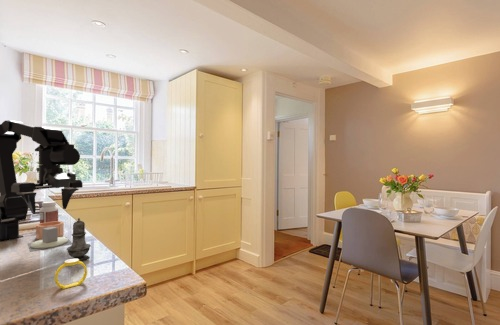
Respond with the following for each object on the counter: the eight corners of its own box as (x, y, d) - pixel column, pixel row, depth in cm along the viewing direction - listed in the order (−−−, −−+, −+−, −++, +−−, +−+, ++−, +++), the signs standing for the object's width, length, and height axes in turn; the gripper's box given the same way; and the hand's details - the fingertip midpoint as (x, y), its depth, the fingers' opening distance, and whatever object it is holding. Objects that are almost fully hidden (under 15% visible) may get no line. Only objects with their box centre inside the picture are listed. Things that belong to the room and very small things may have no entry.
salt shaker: (78, 264, 72) (78, 220, 72) (61, 262, 73) (61, 219, 73) (95, 256, 78) (95, 216, 78) (78, 255, 79) (78, 215, 79)
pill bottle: (61, 226, 114) (61, 200, 114) (53, 229, 108) (53, 202, 108) (44, 226, 112) (44, 201, 112) (36, 230, 106) (36, 203, 106)
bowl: (31, 238, 95) (31, 224, 95) (56, 233, 102) (56, 220, 102) (43, 241, 92) (43, 227, 92) (68, 235, 99) (68, 222, 99)
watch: (85, 281, 62) (87, 256, 62) (86, 286, 60) (89, 259, 60) (53, 287, 58) (56, 260, 59) (54, 292, 56) (56, 264, 56)
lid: (24, 245, 86) (24, 229, 86) (57, 237, 95) (57, 223, 95) (40, 250, 81) (40, 233, 81) (74, 241, 90) (74, 226, 90)
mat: (27, 244, 88) (27, 243, 88) (66, 238, 96) (66, 237, 96) (30, 253, 80) (30, 251, 80) (72, 245, 88) (72, 243, 88)
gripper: (28, 165, 76) (29, 219, 76) (92, 164, 93) (92, 208, 93) (10, 165, 81) (10, 215, 81) (73, 164, 98) (73, 206, 98)
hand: (49, 211), depth 88 cm, fingers open, 9 cm apart
